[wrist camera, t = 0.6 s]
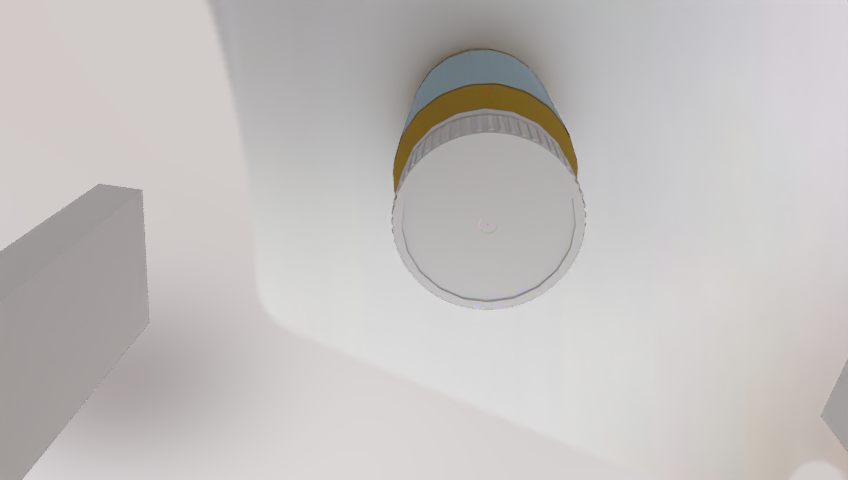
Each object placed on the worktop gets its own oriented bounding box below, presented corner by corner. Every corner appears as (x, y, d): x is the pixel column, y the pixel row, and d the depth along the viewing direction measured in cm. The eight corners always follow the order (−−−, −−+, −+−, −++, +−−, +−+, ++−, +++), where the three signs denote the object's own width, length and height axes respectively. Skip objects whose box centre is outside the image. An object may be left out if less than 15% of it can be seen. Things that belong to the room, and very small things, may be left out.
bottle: (388, 133, 35) (338, 251, 22) (463, 18, 33) (460, 70, 19) (494, 203, 37) (511, 356, 23) (575, 98, 34) (647, 199, 20)
